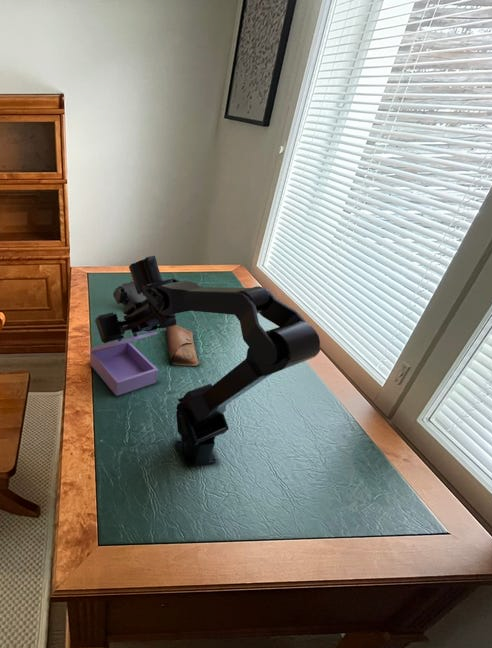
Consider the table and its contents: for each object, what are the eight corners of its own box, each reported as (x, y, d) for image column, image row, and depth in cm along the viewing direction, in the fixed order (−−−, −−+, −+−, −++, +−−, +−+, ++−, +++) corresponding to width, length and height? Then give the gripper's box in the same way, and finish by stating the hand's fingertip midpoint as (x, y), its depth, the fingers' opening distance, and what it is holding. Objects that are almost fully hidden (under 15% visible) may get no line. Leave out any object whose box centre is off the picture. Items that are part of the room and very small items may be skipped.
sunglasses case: (201, 365, 105) (192, 347, 102) (177, 374, 108) (167, 356, 104) (192, 331, 120) (184, 314, 117) (171, 339, 122) (163, 323, 119)
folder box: (156, 382, 100) (158, 369, 97) (116, 396, 95) (117, 382, 92) (127, 353, 110) (128, 340, 107) (89, 364, 105) (90, 351, 103)
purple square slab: (157, 334, 93) (152, 315, 93) (114, 345, 88) (109, 326, 88) (129, 341, 107) (124, 325, 107) (90, 351, 102) (86, 335, 102)
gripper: (173, 270, 87) (142, 293, 101) (100, 284, 79) (78, 307, 94) (189, 316, 86) (155, 332, 100) (117, 335, 79) (91, 350, 93)
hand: (120, 329), depth 97 cm, fingers closed on purple square slab, 5 cm apart
